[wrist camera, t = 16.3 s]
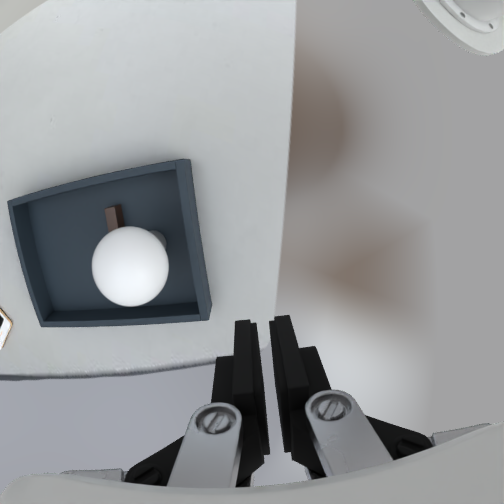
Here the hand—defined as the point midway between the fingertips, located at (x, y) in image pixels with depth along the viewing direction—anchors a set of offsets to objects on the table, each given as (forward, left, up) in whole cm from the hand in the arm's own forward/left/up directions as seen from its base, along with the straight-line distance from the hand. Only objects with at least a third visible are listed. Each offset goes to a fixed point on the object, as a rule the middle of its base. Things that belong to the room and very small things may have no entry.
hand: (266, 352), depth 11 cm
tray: (+16, 0, -21) cm, 26 cm away
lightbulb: (+10, 0, -21) cm, 23 cm away
